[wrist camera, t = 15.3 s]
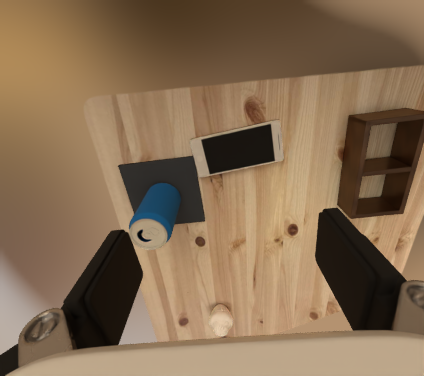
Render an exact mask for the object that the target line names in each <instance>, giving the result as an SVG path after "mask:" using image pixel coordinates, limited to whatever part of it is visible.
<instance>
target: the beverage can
mask: <svg viewBox="0 0 424 376" xmlns="http://www.w3.org/2000/svg"><path fill="white" fill-rule="evenodd" d="M180 202H181V197H180V194H179V192H178V190H177V189H176V188H175V187H173V186H172V185H170V184H167V183H158V184H155V185H153V186H152V187H150V189H149V190H148V192H147V193H146V195H145V197H144V199H143V200H142V202H141V204H140V206H139V207H138V209H137V211H136V212H135V214H134V216H133V218H132V219H131V221H130V224H129V235H130V238H131V240H132V242H133V243H134V244H135V245H137V246H138V247H140V248H143V249H146V250H155V249H158V248H161V247H162V246H163V245H164V244H165V243H166V242H167V241H168V240H169V239H170V237H171V234H172V231H173V227H174V224H175V220H176V216H177V213H178V209H179V206H180Z"/></svg>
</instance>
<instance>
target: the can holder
mask: <svg viewBox="0 0 424 376" xmlns="http://www.w3.org/2000/svg"><path fill="white" fill-rule="evenodd" d="M396 122H398V124H397V129H396V133H395V138H394V142H393V147H392V151H391V155H390V157H384V158H375V159H366V160H365V158H366V152H367V147H368V141H369V135H370V130H371V126H372V125H380V124H388V123H396ZM423 143H424V111H420V110H414V109H409V108H403V109H395V110H388V111H380V112H372V113H365V114H357V115H349V118H348V126H347V134H346V141H345V149H344V157H343V164H342V172H341V180H340V187H339V195H338V203H337V205H338V206H339V207H340V208H341V209H342V210H343V211H344V212H345V213H346V215H347V216H348V217H349V218H350V219H354V218H364V217H374V216H384V215H394V214H403V213H404V209H405V206H406V202H407V199H408V195H409V192H410V188H411V185H412V182H413V178H414V175H415V171H416V168H417V164H418V161H419V157H420V154H421V150H422V147H423ZM381 174H386V177H385V182H384V186H383V191H382V195H381V197H375V198H365V199H358V198H359V192H360V186H361V181H362V176H372V175H381Z"/></svg>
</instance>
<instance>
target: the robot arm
mask: <svg viewBox="0 0 424 376" xmlns="http://www.w3.org/2000/svg"><path fill="white" fill-rule="evenodd" d="M315 258H316V262H317V264H318V266H319V268H320V270H321V272H322V274H323V275H324V277H325V279H326V281H327V283H328V285H329V287H330V288H331V290H332V292H333V294H334V296H335V298H336V300H337V302H338V303H339V305H340V307H341V309H342V311H343V313H344V314H345V316H346V318H347V320H348V322H349V323H350V326H351V328H352V329H353V331H333V332H311V333H295V334H277V335H260V336H244V337H229V338H213V339H198V340H183V341H169V342H155V343H141V344H126V345H118V344H119V341H120V339H121V336H122V333H123V330H124V328H125V325H126V322H127V319H128V317H129V314H130V311H131V308H132V305H133V303H134V300H135V297H136V294H137V291H138V289H139V286H140V283H141V281H142V277H143V271H142V268H141V265H140V263H139V260H138V257H137V254H136V252H135V249H134V246H133V244H132V241H131V238H130V235H129V233H128V232H125V231H124V230H114V231H111V232H110V233H109V234H108V236H107V237H106V239H105V240H104V242H103V243H102V245H101V247H100V248H99V249H98V251H97V252H96V254H95V255H94V257H93V259H92V260H91V261H90V263H89V264H88V266H87V267H86V269H85V270H84V272H83V273H82V275H81V277H80V278H79V279H78V281H77V282H76V284H75V285H74V287H73V288H72V290H71V291H70V293H69V294H68V296H67V297H66V299H65V300H64V304H63V306H62V307H61V309H59V308H53V309H49V310H46V311H44V312H42V313H40V314H39V315H37V316H36V317H34V318H33V319H32V320H31V321H30V322H29V323H27V325H26V326H25V327H24V328H23V330H22V332H21V333H20V335H19V340H18V344H17V345H15V346H13V347H12V348H10V349H9V350H7V351H6V352H4V353H3V354H1V355H0V376H424V281H418V280H411V281H407V280H406V279H405V278H404V277H403V276H402V275H401V274H400V273H399V272H398V271H397V270H396V268H395V267H394V266H393V265H392V264H391V263H390V262H389V261H388V260H387V259H386V258H385V257H384V256H383V254H382V253H381V252H380V251H379V250H378V249H377V248H376V247H375V246H374V245H373V244H372V243H371V242H370V240H369V239H368V238H367V237H366V236H364V235H363V234H361V233H360V232H359V231H358V229H357V228H356V227H355V226H354V225H353V224H352V223H351V222H350V221H349V220H348V219H347V217H346V216H345V215H344V214H343V213H342V212H341V211H340V210H339V209H338V208H329V209H324V210H323V212H320V213H319V219H318V230H317V241H316V252H315Z"/></svg>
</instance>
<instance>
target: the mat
mask: <svg viewBox="0 0 424 376" xmlns="http://www.w3.org/2000/svg"><path fill="white" fill-rule="evenodd" d="M118 167H119V170H120V173H121V176H122V179H123V182H124V185H125V187H126V190H127V193H128V196H129V199H130V202H131V205H132V208H133V211H134V214H135V212H136V211H137V209H138V207H139V206H140V204H141V202H142V200H143V199H144V197H145V195H146V193H147V192H148V190H149V189H150V187H152V186H153V185H155V184H158V183H167V184H170V185H172V186H173V187H175V188H176V189H177V190H178V192H179V194H180V197H181V202H180V206H179V209H178V213H177V216H176V220H175V224H182V223H192V222H202V221H205V217H204V211H203V205H202V200H201V194H200V188H199V182H198V177H197V171H196V165H195V160H194V157H193V156H189V157H181V158H173V159H165V160H157V161H148V162H140V163H132V164H124V165H119V166H118Z"/></svg>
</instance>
